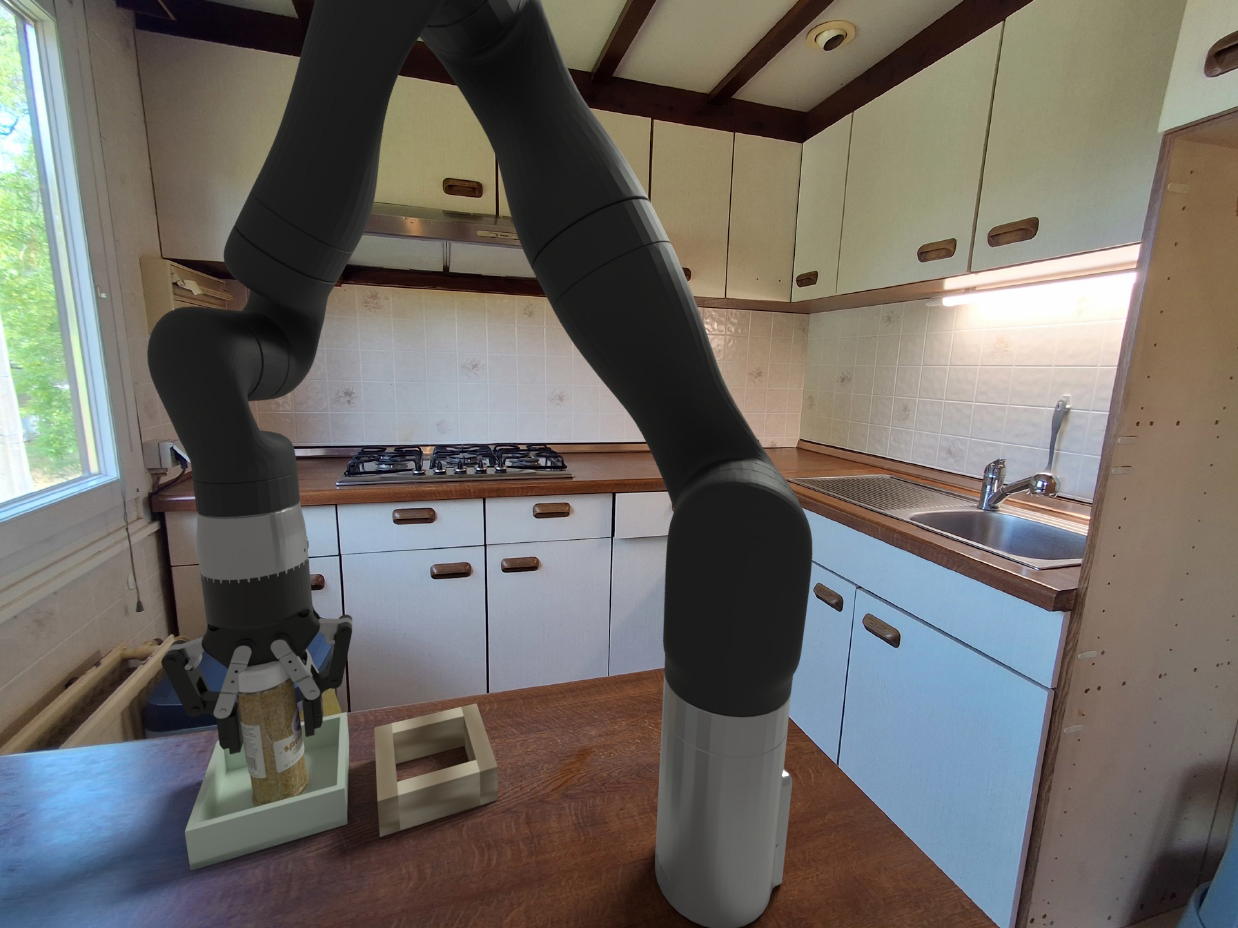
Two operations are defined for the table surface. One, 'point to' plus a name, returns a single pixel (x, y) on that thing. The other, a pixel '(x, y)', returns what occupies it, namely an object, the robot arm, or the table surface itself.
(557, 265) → the robot arm
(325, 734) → the tray
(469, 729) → the socket block
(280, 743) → the sprinkles bottle
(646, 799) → the table surface
